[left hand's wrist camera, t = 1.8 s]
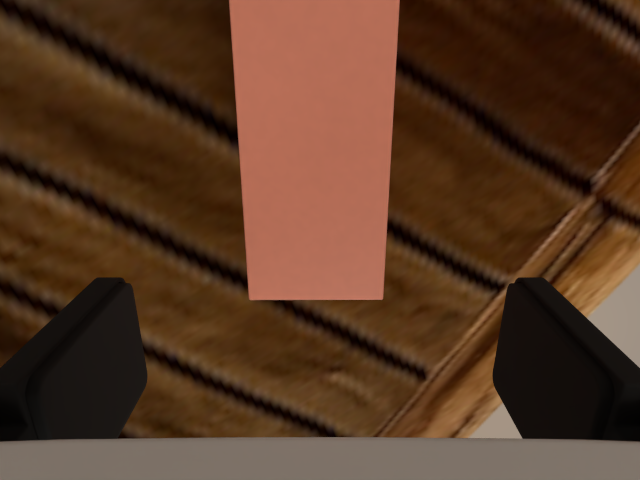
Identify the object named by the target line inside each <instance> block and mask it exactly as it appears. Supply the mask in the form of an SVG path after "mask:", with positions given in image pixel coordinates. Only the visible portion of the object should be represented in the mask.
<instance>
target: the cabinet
mask: <svg viewBox="0 0 640 480" xmlns="http://www.w3.org/2000/svg"><path fill="white" fill-rule="evenodd" d="M399 1H400V0H229V8H230V23H231V38H232V52H233V67H234V82H235V97H236V112H237V127H238V142H239V157H240V171H241V186H242V201H243V216H244V231H245V246H246V261H247V276H248V291H249V300H382V299H383V288H384V270H385V252H386V234H387V217H388V199H389V181H390V163H391V145H392V127H393V109H394V91H395V73H396V55H397V37H398V19H399Z"/></svg>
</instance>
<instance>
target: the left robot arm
mask: <svg viewBox="0 0 640 480" xmlns="http://www.w3.org/2000/svg"><path fill="white" fill-rule="evenodd" d="M146 383H147V368H146V363H145V357H144V351H143V345H142V339H141V334H140V328H139V322H138V316H137V310H136V305H135V299H134V293H133V288H132V286H131V284H129V283H125V281H124V279H123V278H96V279H95V280H93V281H92V282H91V283H90V284H89V285H88V286H87V287H86V288H85V289H84V290H83V291H82V292H81V293H80V294H79V295H78V296H76V297H75V298H74V299H73V300H72V301H71V302H70V303H69V304H68V305H67V306H66V307H65V308H64V309H63V310H62V311H61V312H59V313H58V314H57V315H56V316H55V317H54V318H53V319H52V320H51V321H50V322H49V323H48V324H47V325H46V326H45V327H43V328H42V329H41V330H40V331H39V332H38V333H37V334H36V335H35V336H34V337H33V338H32V339H31V340H30V341H29V342H28V343H26V344H25V345H24V346H23V347H22V348H21V349H20V350H19V351H18V352H17V353H16V354H15V355H14V356H13V357H12V358H11V359H9V360H8V361H7V362H6V363H5V364H4V365H3V366H2V367H1V368H0V480H640V368H639V367H638V366H637V365H636V364H635V363H634V362H633V361H632V360H631V359H629V358H628V357H627V356H626V355H625V354H624V353H623V352H622V351H621V350H620V349H619V348H618V347H617V346H616V345H615V344H614V343H612V342H611V341H610V340H609V339H608V338H607V337H606V336H605V335H604V334H603V333H602V332H601V331H600V330H599V329H598V328H596V327H595V326H594V325H593V324H592V323H591V322H590V321H589V320H588V319H587V318H586V317H585V316H584V315H583V314H582V313H581V312H579V311H578V310H577V309H576V308H575V307H574V306H573V305H572V304H571V303H570V302H569V301H568V300H567V299H566V298H565V297H564V296H562V295H561V294H560V293H559V292H558V291H557V290H556V289H555V288H554V287H553V286H552V285H551V284H550V283H549V282H548V281H547V280H545V279H544V278H517V279H516V281H515V283H511V284H509V286H508V288H507V293H506V299H505V305H504V310H503V316H502V322H501V328H500V334H499V339H498V345H497V351H496V357H495V363H494V368H493V383H494V386H495V389H496V391H497V392H498V394H499V396H500V398H501V400H502V402H503V403H504V405H505V407H506V409H507V411H508V413H509V414H510V416H511V418H512V420H513V422H514V424H515V425H516V427H517V429H518V431H519V433H520V435H521V436H522V438H523V439H490V438H380V437H261V438H151V439H117V438H118V436H119V435H120V433H121V431H122V429H123V427H124V425H125V424H126V422H127V420H128V418H129V416H130V414H131V413H132V411H133V409H134V407H135V405H136V403H137V402H138V400H139V398H140V396H141V394H142V392H143V391H144V389H145V386H146Z"/></svg>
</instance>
